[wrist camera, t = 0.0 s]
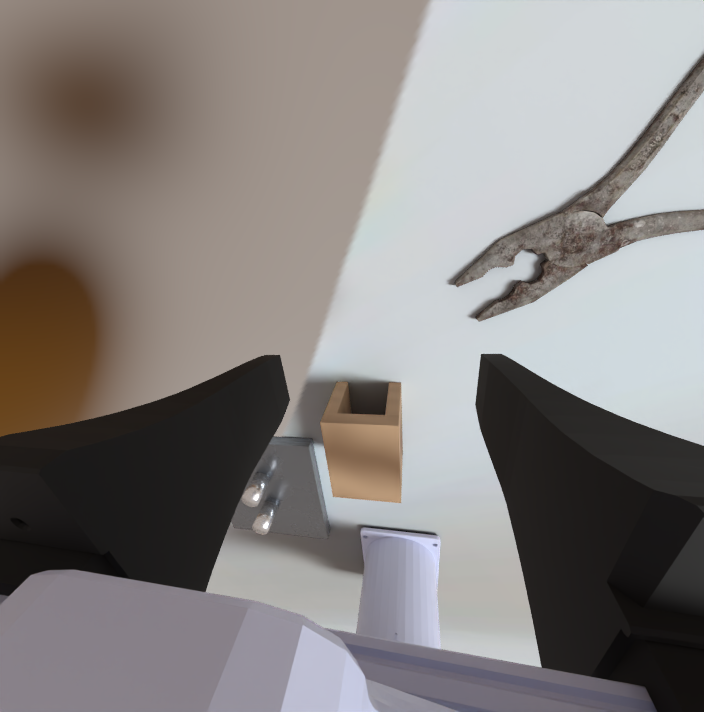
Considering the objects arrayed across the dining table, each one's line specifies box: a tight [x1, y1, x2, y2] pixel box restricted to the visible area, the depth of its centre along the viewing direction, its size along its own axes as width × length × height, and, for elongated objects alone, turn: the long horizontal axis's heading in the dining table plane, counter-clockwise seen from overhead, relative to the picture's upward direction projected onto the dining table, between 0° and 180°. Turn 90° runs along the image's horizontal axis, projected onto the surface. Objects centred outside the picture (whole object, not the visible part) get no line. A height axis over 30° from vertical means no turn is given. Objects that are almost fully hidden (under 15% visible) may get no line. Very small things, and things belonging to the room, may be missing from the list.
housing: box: [320, 382, 403, 503], centre depth 22 cm, size 7×5×5 cm
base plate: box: [231, 437, 330, 539], centre depth 29 cm, size 13×11×4 cm
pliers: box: [455, 58, 704, 322], centre depth 15 cm, size 10×1×20 cm
